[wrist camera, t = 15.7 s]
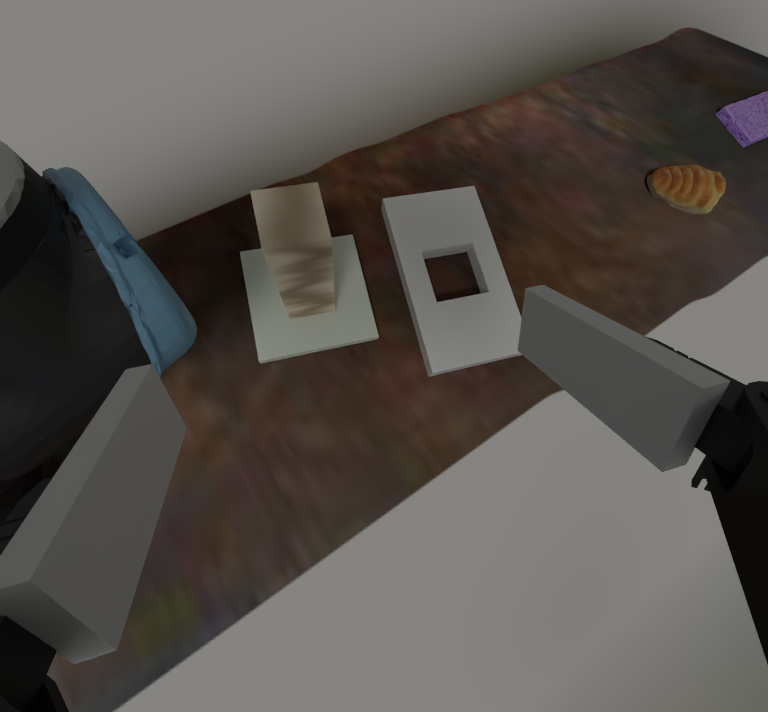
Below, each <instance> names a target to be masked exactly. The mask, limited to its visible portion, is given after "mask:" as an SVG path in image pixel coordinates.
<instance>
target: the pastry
mask: <svg viewBox="0 0 768 712" xmlns="http://www.w3.org/2000/svg"><path fill="white" fill-rule="evenodd" d="M647 185H648V188H649V190H650V193H651V194H652V195H653V196H654V197H656V198H659V199H660V200H661V201H663V202H664V203H666V204H667V205H668V206H670V207H672V208H676V209H679V210H682V211H685V212H688V213H692V214H707V213H709V212H710V211H711V210H712V208H713V207H714V206H715V205H716V204H717V202H718V200H719V198H720V197H721V196H722V195H723V193H724V191H725V187H726V180H725V178H724V177H722V175H721V173H720V172H715V171H710V170H707V169H705V168H703V167H700V166H698V165H694V164H692V165H677V166H666V167H662V168H658V169H657V170H655V171H654V172H653V173H652V174H650V175H649V176H648V177H647Z"/></svg>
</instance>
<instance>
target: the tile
mask: <svg viewBox="0 0 768 712" xmlns="http://www.w3.org/2000/svg"><path fill="white" fill-rule="evenodd" d="M332 252H333V271H334V291H335V311H331V312H326V313H321V314H316V315H311V316H306V317H301V318H296V319H291V320H290V318H289V315H288V313H287V310H286V308H285V305H284V303H283V300H282V298H281V296H280V293H279V291H278V288H277V286H276V283H275V281H274V279H273V276H272V274H271V271H270V269H269V266H268V264H267V261H266V259H265V257H264V254H263V252H262V248H261V249H255V250H248V251H242V252H240V256H241V262H242V268H243V273H244V279H245V285H246V290H247V296H248V302H249V307H250V313H251V319H252V325H253V330H254V336H255V342H256V347H257V353H258V359H259V362H260V363H266V362H270V361H275V360H280V359H285V358H290V357H294V356H299V355H304V354H309V353H314V352H318V351H323V350H328V349H333V348H337V347H342V346H347V345H352V344H357V343H361V342H366V341H371V340H376V339H378V337H379V335H378V331H377V327H376V324H375V320H374V316H373V312H372V308H371V304H370V300H369V296H368V292H367V289H366V285H365V281H364V277H363V273H362V269H361V265H360V261H359V258H358V254H357V250H356V246H355V242H354V238H353V234H352V235H345V236H339V237H332Z"/></svg>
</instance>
